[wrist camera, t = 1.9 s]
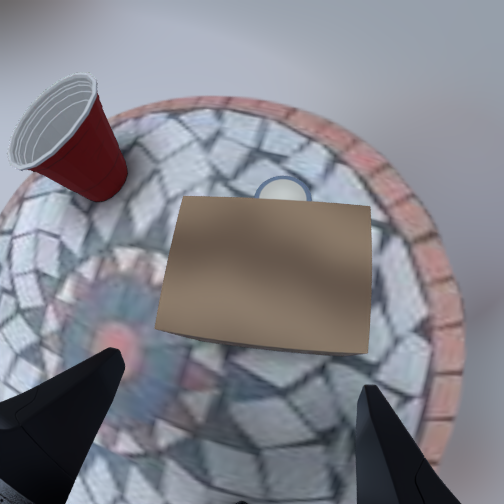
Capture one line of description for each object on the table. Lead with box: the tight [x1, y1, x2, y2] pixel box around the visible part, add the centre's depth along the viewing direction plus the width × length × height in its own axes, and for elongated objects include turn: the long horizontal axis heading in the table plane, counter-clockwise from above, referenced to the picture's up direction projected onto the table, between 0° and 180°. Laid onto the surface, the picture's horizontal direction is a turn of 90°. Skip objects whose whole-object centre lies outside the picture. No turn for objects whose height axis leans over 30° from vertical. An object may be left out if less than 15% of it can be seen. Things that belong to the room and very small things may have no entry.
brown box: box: [155, 196, 372, 356], centre depth 19 cm, size 8×11×8 cm
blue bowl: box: [254, 176, 312, 201], centre depth 24 cm, size 4×4×3 cm
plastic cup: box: [7, 72, 128, 202], centre depth 25 cm, size 11×11×12 cm
